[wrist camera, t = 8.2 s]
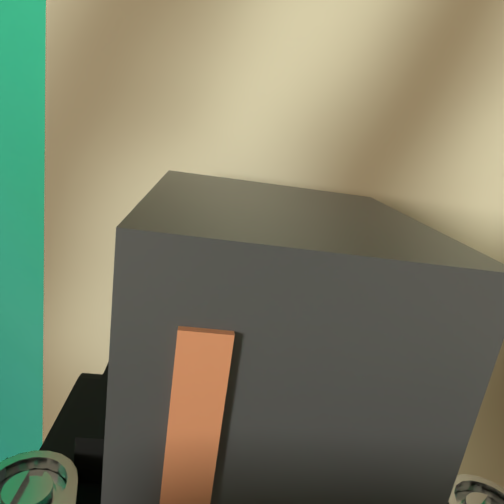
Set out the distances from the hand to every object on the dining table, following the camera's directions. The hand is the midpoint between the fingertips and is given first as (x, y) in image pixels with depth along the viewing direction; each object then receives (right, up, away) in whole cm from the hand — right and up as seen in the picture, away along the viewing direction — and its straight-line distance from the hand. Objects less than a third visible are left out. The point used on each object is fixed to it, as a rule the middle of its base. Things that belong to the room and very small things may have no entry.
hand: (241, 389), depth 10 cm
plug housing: (0, 0, 0) cm, 0 cm away
